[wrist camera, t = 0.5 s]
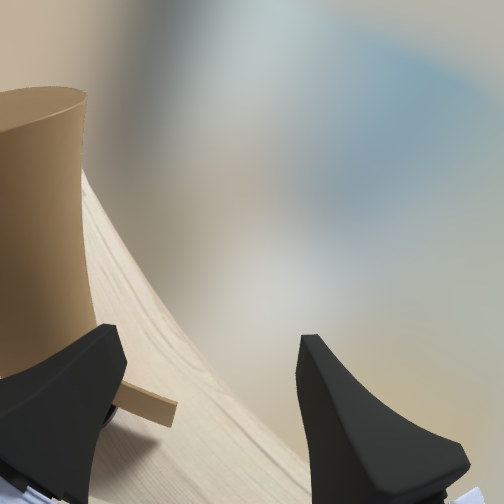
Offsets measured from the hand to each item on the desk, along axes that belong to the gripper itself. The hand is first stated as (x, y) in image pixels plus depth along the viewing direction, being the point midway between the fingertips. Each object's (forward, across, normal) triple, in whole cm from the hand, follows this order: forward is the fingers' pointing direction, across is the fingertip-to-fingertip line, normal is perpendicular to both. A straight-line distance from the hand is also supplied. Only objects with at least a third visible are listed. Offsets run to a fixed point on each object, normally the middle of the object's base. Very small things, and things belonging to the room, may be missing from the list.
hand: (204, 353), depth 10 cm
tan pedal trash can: (+6, +13, +13) cm, 19 cm away
